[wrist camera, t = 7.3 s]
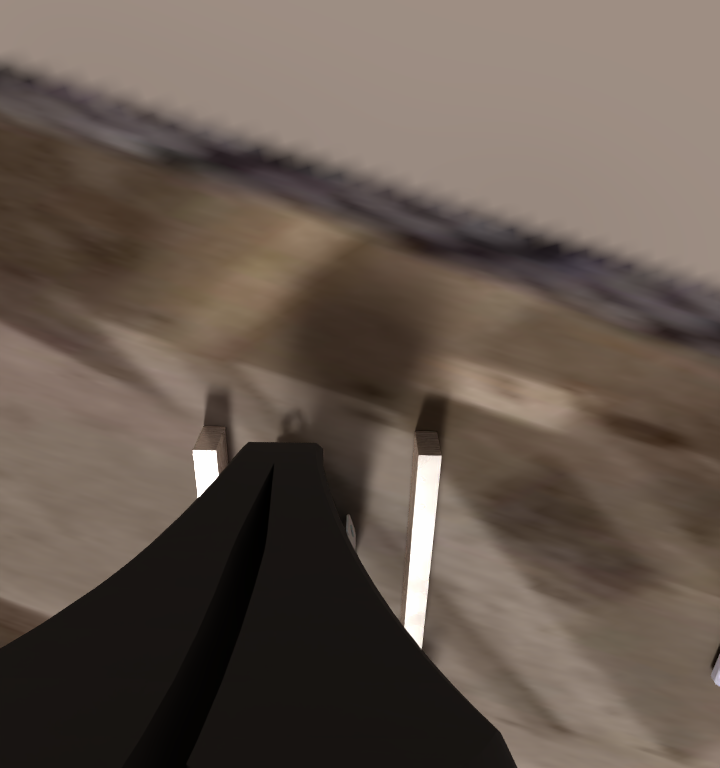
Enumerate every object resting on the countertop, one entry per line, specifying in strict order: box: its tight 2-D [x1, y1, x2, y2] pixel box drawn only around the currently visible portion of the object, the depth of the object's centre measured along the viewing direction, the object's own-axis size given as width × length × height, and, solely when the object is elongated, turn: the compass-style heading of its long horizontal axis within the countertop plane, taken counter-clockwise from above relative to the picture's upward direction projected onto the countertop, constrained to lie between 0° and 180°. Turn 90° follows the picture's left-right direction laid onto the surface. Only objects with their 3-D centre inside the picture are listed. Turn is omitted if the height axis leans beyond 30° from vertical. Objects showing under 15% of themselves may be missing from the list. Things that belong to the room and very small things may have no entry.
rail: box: [193, 426, 442, 649], centre depth 24 cm, size 9×16×5 cm, turn 179°
